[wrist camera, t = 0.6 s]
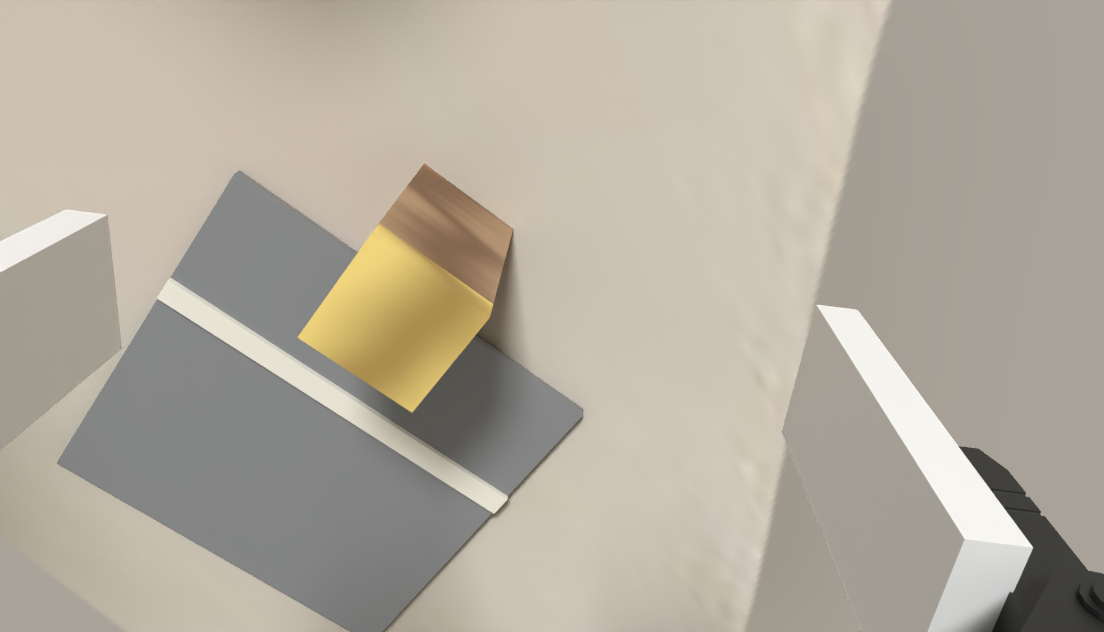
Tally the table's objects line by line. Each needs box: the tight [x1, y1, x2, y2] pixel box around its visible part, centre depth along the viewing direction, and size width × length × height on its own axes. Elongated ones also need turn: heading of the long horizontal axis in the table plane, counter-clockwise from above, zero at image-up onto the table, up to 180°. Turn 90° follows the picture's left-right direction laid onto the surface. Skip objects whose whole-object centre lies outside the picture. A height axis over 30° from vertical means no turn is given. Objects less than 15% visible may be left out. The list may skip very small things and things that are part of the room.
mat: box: [57, 171, 583, 632], centre depth 43 cm, size 20×20×1 cm
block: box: [297, 164, 513, 412], centre depth 34 cm, size 5×5×10 cm
